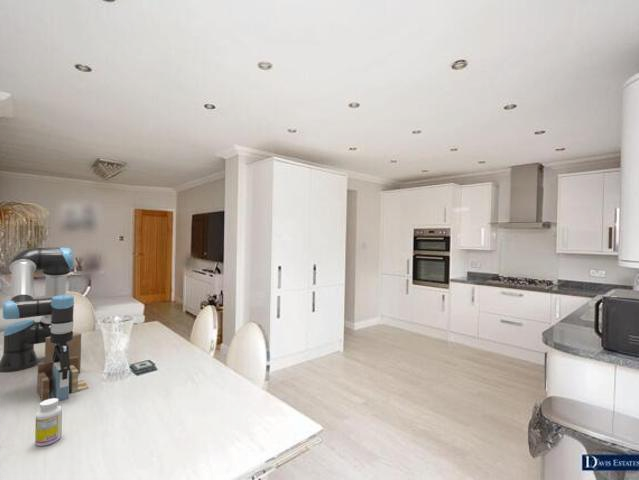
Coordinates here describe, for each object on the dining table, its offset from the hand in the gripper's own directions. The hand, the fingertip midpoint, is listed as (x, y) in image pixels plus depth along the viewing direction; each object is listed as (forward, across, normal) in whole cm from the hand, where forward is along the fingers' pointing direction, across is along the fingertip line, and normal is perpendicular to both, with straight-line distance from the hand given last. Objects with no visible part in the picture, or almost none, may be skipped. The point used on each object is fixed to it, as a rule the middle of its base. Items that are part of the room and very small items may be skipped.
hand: (60, 381), depth 134 cm
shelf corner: (+6, -4, +1) cm, 7 cm away
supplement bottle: (+6, +36, -9) cm, 38 cm away
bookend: (+6, -5, +7) cm, 10 cm away
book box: (+6, 0, 0) cm, 6 cm away
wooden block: (+7, -25, +5) cm, 26 cm away
